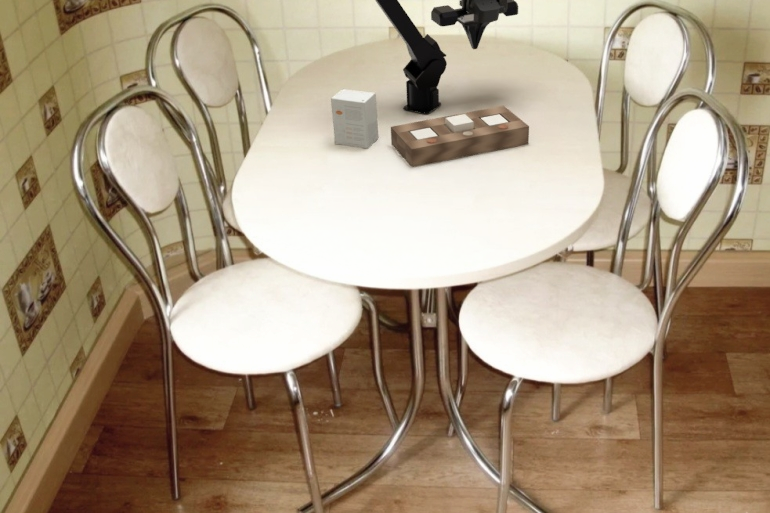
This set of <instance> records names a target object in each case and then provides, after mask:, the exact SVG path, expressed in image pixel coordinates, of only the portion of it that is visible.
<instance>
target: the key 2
mask: <svg viewBox="0 0 770 513" xmlns="http://www.w3.org/2000/svg"><path fill="white" fill-rule="evenodd" d="M480 119H481V120H482V121H483V122H484V123H486V124H487V125H488V126H493V125H498V124H503V123H508V121H507V120H506V119H504V118H503V117H502V116H501V115H500V114H498V115H493V116H488V117H483V118H480Z"/></svg>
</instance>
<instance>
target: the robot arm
mask: <svg viewBox="0 0 770 513" xmlns="http://www.w3.org/2000/svg"><path fill="white" fill-rule="evenodd" d="M374 1H375V2H376V4H377V6H378V7H379V8H380V9H381V11H382V12H383V13H384V15H385V16H386V17H387V19H388V20H389V22H390V24H391V25H392V27H393V28H394V29H395V31H396V32H397V34H398V35H399V36H400V38H401V39H402V40H403V41H404V43H405V45H406V49H407V51H408V55H409V57H410V60H409V61H408V63H407V64H406V65H405V66H404V67H403V69H402V72H403V73H404V77H405V78H407V79H408V80H407V81H406V82H405V84H406V88H405V89H406V90H405V91H406V105H404V106H403V107H402V109H403V110H405V111H409V112H412V113H418V114H422V115H423V114H424V115H428V114H430V113H432V112H433V111H435V109H437V108H439V107H441V105H442V102H440V101H439V100H440V98H439V97H440V96H439V94H440V93H439V92H440V91H439V88H438V86H439V83H440V80H441V77H442V75H443V74H444V73H445V72H446V68H447V64H448V63H447V60H446V57H447V54H446V53H445V52H444V51H443V50H441V47H440V45H439V43H438V42H437V41H436V40H435V39H434V38H433V37H431V35H429V34H426V35H425V36H423V35H422V33H421V32H420V31H419V29H418V28H417V26H416V25H415V23H414V22H413V20H412V19H411V18H410V16H409V15H408V13H407V12H406V10H405V8H403V6H402V5H401V3H400V2H399V1H398V0H374ZM518 4H519V3H517V1H515V0H459V6H460V8H455V9H454V8H453V7H452V6H450V5H448V4H447V5H442V6H441V5H439V6H434V7H433V9H432V10H431V11H430V20H431V21H432V22H434V23H436V24H437V25H438V26H440V27H448V26H454V25H455V24H457V23H459V24H461V26H462V28H463V29H464V32H465V34H466V36H467V40H468V42H469V44H470V47H471V49H473V50H478V48H479V44H480V42H481V40H482V36H483V34H484V32H485V30H486V28H487V26H488V25H490V23H494V22H496V21H498V20H499V16H500V15H501V14H503V15H504V16H505V17H510V16H511V17H512V16H516V15H518V14H519V5H518Z"/></svg>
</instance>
